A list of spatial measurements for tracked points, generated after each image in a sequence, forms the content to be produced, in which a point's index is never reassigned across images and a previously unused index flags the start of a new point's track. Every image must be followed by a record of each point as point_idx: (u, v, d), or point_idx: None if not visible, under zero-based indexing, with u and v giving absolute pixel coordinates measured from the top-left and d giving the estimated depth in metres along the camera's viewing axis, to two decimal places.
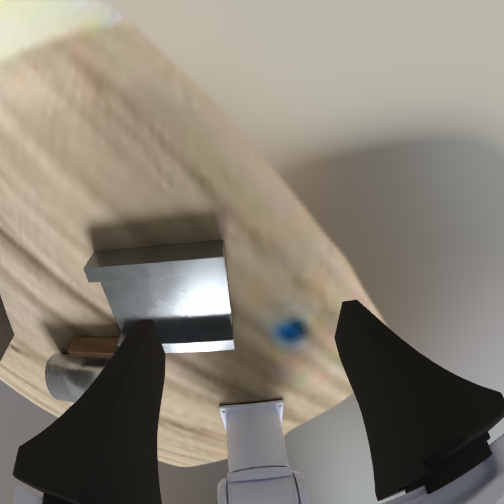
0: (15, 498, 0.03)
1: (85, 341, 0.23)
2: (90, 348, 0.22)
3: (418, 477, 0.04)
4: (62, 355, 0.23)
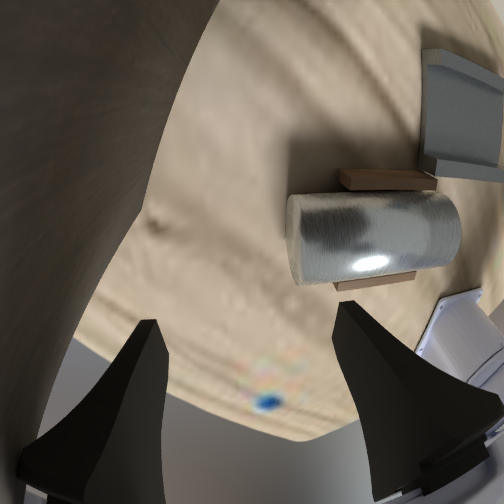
0: None
1: (367, 171, 0.17)
2: (385, 175, 0.16)
3: (414, 479, 0.04)
4: None
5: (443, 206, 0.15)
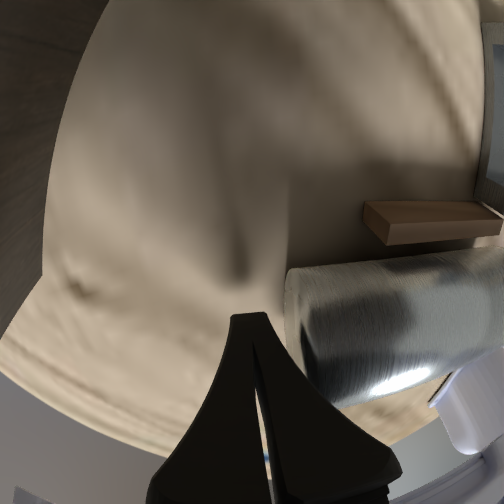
0: (15, 498, 0.03)
1: (410, 206, 0.10)
2: (440, 215, 0.09)
3: None
4: (331, 265, 0.10)
5: None
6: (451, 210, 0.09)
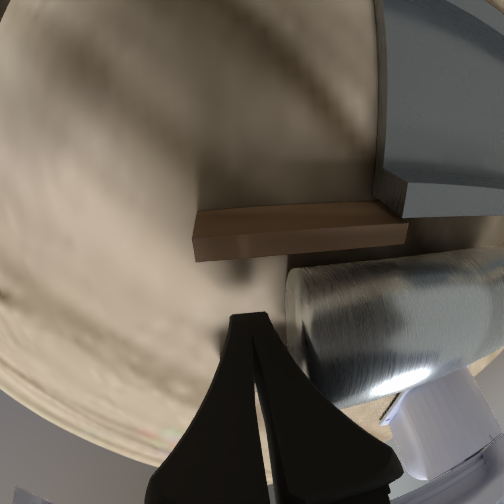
0: (15, 498, 0.03)
1: (251, 214, 0.09)
2: (283, 223, 0.09)
3: None
4: (332, 265, 0.10)
5: None
6: (315, 215, 0.09)
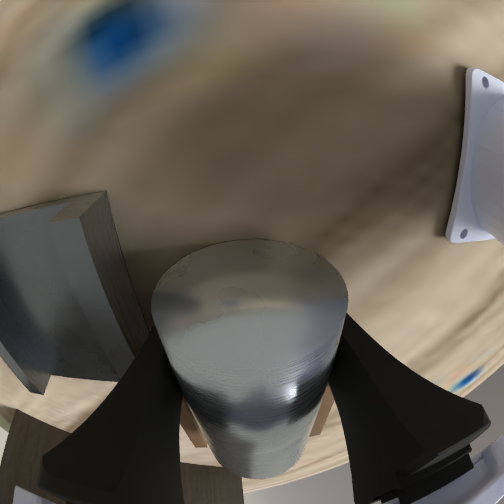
0: (15, 498, 0.03)
1: None
2: None
3: (391, 489, 0.04)
4: None
5: (180, 372, 0.07)
6: None
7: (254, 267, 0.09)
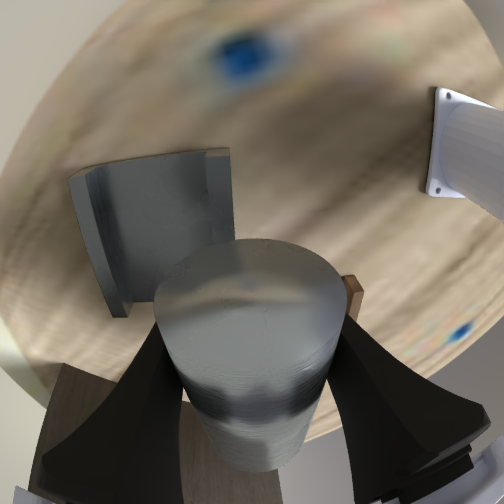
0: (15, 498, 0.03)
1: None
2: None
3: (392, 489, 0.04)
4: None
5: (185, 374, 0.07)
6: None
7: (253, 267, 0.09)
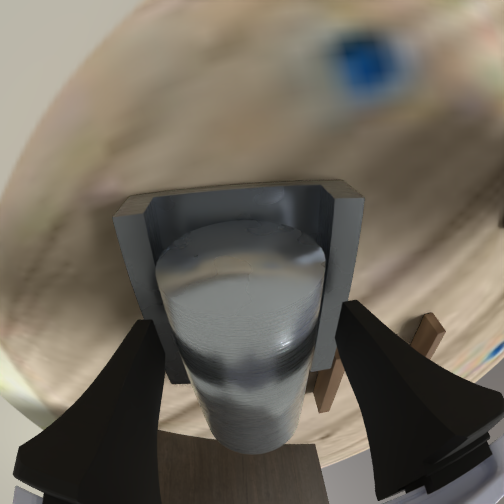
0: (15, 498, 0.03)
1: (318, 387, 0.19)
2: (322, 390, 0.17)
3: (418, 477, 0.04)
4: None
5: (177, 328, 0.08)
6: (323, 376, 0.17)
7: (245, 240, 0.10)
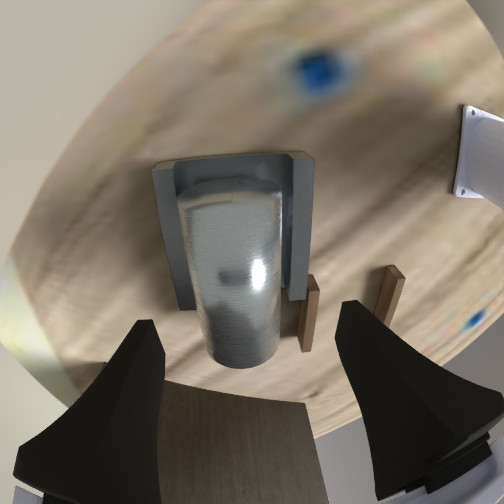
0: (15, 498, 0.03)
1: (300, 327, 0.24)
2: (303, 327, 0.23)
3: (418, 477, 0.04)
4: None
5: (187, 231, 0.14)
6: (303, 313, 0.23)
7: (234, 186, 0.15)
